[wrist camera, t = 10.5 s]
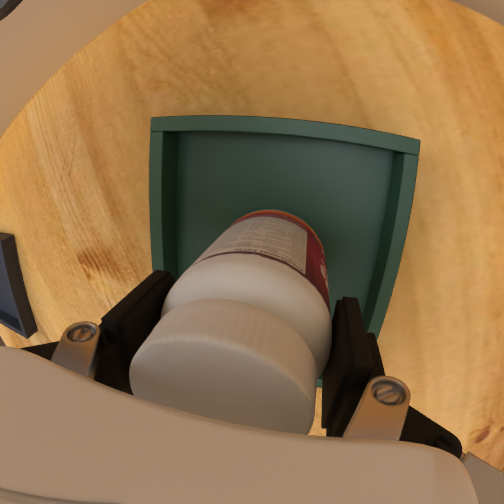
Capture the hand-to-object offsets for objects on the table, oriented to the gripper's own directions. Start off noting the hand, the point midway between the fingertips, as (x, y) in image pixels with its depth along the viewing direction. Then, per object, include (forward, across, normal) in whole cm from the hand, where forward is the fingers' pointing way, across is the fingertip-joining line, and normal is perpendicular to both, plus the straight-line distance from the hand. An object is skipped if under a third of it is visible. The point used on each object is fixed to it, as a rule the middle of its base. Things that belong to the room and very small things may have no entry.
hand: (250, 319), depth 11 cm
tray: (+7, 0, 0) cm, 7 cm away
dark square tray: (+7, +31, +7) cm, 32 cm away
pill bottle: (+7, 0, 0) cm, 7 cm away
